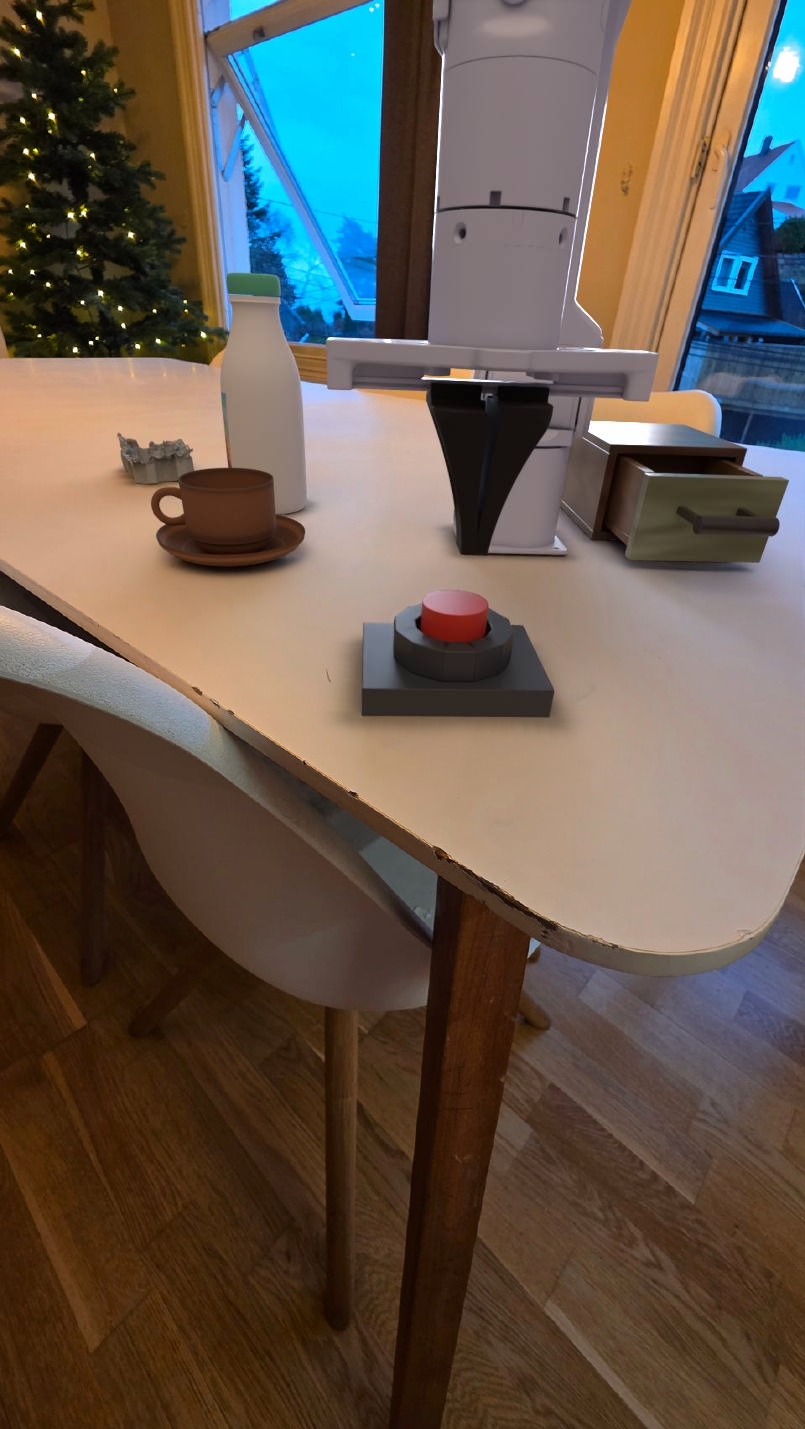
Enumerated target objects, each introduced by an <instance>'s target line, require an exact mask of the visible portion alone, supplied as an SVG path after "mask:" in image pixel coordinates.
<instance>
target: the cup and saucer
mask: <svg viewBox="0 0 805 1429" xmlns="http://www.w3.org/2000/svg"><path fill="white" fill-rule="evenodd" d="M177 482H178V487H176V486H175V487H174V486H165V487H161V488H159V489H157V490H156V491H155V492H154V493H153V495H152V496H151V499H150V507H151V511H152V513H153V515H154V516H155V518H156V519H157V520H158V521H160V522H161V523H163V525H162V526H161V527H160V528H159V529H158V530H157V531H156V534H155V538H156V540H157V543H158V545H159V546H160V548H161V549H163V550H164V551H166V552H167V553H168V554H170V555H171V556H173V557H175V558H177V559H179V560H182V561H185V562H189V563H193V564H197V565H202V566H210V567H211V566H212V567H242V566H243V567H244V566H253V565H258V564H263V563H268V562H272V561H276V560H278V559H280V558H283V557H285V556H287V555H288V554H291V553H292V552H294V551H295V550H296V549H297V548H298V547H299V546H300V545H301V544H302V543H303V541H304V540H305V537H306V528H305V526H304V525H303V524H302V523H301V522H299V521H298V520H296V519H294V518H292V517H288V516H286V515H283V514H276V513H275V495H274V478H273V476H272V475H271V474H269V473H267V472H264V471H260V470H255V469H247V468H228V467H210V468H202V469H197V470H194V471H191V472H188V473H185V474H183V475H181V476H180V477H179V478H178V481H177ZM165 497H174V498H176V499H179V500H181V505H182V512H183V513H182V514H180V515H179V516H173V517H171V516H169V515H166V514H164V512H163V511H162V509H161V506H160V504H161V500H163V498H165Z"/></svg>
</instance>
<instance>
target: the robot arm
mask: <svg viewBox="0 0 805 1429" xmlns="http://www.w3.org/2000/svg"><path fill="white" fill-rule="evenodd" d="M432 1H433V3H432V4H433V5H432V21H433V44H434V47H435V49H436V50H437V52H438V54H439V55H440V56H441V58H442V60H441V62H442V63H441V82H440V100H439V101H440V102H439V118H438V138H437V155H436V156H437V159H436V178H435V195H434V196H435V197H434V198H435V199H434V217H433V232H432V233H433V235H432V257H431V276H430V279H431V280H430V292H429V293H430V296H429V311H428V312H429V313H428V314H429V315H428V332H427V333H428V334H427V339H426V340H425V339H394V338H393V339H392V338H388V339H387V338H359V337H357V338H356V337H328V338H327V339H326V340H325V346H326V347H325V349H326V350H325V351H326V352H325V353H326V389H327V390H329V391H330V390H331V391H352V390H353V389H354V390H355V389H357V390H358V389H360V390H380V391H381V390H383V391H385V390H386V391H406V392H407V391H410V392H425V402H426V404H427V408H428V411H429V413H430V416H431V420H432V422H433V425H434V429H435V431H436V435H437V438H438V442H439V444H440V448H441V451H442V455H443V459H444V462H445V467H446V470H447V474H448V475H447V476H448V479H449V486H450V490H451V496H452V501H453V517H452V518H453V519H452V521H453V522H452V526H451V527H452V529H453V532H454V535H455V539H456V540H455V543H456V546H457V549H458V553H459V555H460V556H478V557H479V556H481V557H482V556H483V557H484V556H485V557H486V556H488V554H511V555H512V554H514V555H515V554H517V555H556V556H557V555H558V556H559V555H562V556H565V555H567V554H568V548H567V546H566V545H565V544H564V543H563V541H561V539H560V538H559V537H558V536H557V534H556V532H557V528H558V521H559V516H560V515H559V514H560V511H561V510H560V509H561V507H560V504H561V498H562V493H563V487H564V481H565V475H566V469H567V464H568V458H569V452H570V446H571V445H572V441H573V438H574V433H576V434H575V438H576V439H581V438H582V437H583V435H585V434H586V433H588V432H589V427H590V422H591V421H592V416H593V411H594V404H595V401H596V400H595V399H618V400H619V399H620V400H623V401H627V402H645V403H646V402H649V401H650V398H651V395H652V389H653V384H654V381H655V376H656V372H657V368H658V362H659V359H660V353H659V352H653V351H647V350H634V349H633V350H632V349H614V348H613V349H612V348H603V346H604V342H605V339H604V337H603V336H602V334H603V333H602V332H603V330H602V328H601V327H600V325H599V324H597V322H596V321H595V320H594V319H593V318H592V317H591V316H590V315H589V314H588V312H586V311H585V310H584V309H583V307H581V305H580V304H579V303H578V302H577V300H576V299H577V293H578V288H579V281H580V276H581V270H582V269H581V268H582V262H583V257H584V250H585V244H586V237H587V233H588V232H587V231H588V225H589V219H590V212H591V207H592V201H593V194H594V188H595V181H596V175H597V169H598V164H599V163H598V162H599V158H600V156H599V155H600V150H601V144H602V138H603V131H604V125H605V118H606V113H607V108H608V99H609V94H610V89H611V88H610V87H611V81H612V76H613V68H614V62H615V56H616V50H617V46H618V43H619V39H620V35H621V34H622V30H623V27H624V25H625V22H626V19H627V16H628V13H629V11H630V7H631V5H632V1H633V0H432ZM452 369H453V370H467V371H469V370H470V371H474V373H473V379H465V378H439V377H450V376H451V373H452ZM425 376H428V377H425Z"/></svg>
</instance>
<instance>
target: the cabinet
mask: <svg viewBox="0 0 805 1429" xmlns="http://www.w3.org/2000/svg"><path fill="white" fill-rule="evenodd" d="M575 434H576V433H574V438H573V441H572V445H571V446H570V452H569V458H568V464H567V469H566V475H565V481H564V487H563V493H562V498H561V504H560V509H562V511H564V513H565V514H566V515H567V516H568V517H569V518H570V519H571V520H572V521H573V522H574V523H575V524H576V526H578V527H579V529H580V530H581V531H582V532H584V534H585V535H586V536H587V537H588V538H589V539H590V540H591V541H621V540H620V539H619V538H618V537H617V536H616V535H615V534H614V533H613V532H612V531H611V530H610V529H609V528H608V527H606V526H605V525H604V524H603V519H604V514H605V510H606V505H607V500H608V496H609V491H610V486H611V481H612V477H613V472H614V467H615V463H616V458H617V454H646V455H676V456H707V457H722V458H724V459H726V460H728V461H731V462H733V463H735V464H738V465H740V466H742V467H743V466H744V462H745V458H746V455H747V452H748V448H747V447H744V446H742V445H739V444H736V443H733V442H731V441H728V440H727V439H724V438H721V437H718V436H715V435H713V434H710V433H708V432H705V431H703V430H700V429H697V428H695V427H691V426H689V425H687V424H682V423H681V424H677V423H676V424H675V423H654V422H651V423H650V422H625V421H599V420H598V421H593V420H591V422H590V427H589V432H588V433H586V434H585V435H583V437H582V438H581V439H576V438H575Z"/></svg>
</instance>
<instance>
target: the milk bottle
mask: <svg viewBox="0 0 805 1429" xmlns="http://www.w3.org/2000/svg"><path fill="white" fill-rule="evenodd" d="M226 289H227V294H228V302H229V303H230V305H231V323H230V324H231V325H230V330H229V334H228V338H227V342H226V346H225V348H224V352H223V355H222V360H221V364H220V377H219V378H220V381H219V383H220V399H221V400H220V401H221V411H222V420H223V430H224V431H223V432H224V441H225V449H226V460H227V468H247V469H255V470H260V471H264V472H267V473H269V474H271V475H272V476H273V478H274V495H275V513H276V514H277V515H283V514H285V515H286V514H291V513H295V512H298V511H301V510H302V509H304V508H305V507H306V505H307V502H308V489H307V485H308V484H307V464H306V461H307V460H306V442H305V441H306V440H305V424H304V423H305V422H304V406H303V405H304V404H303V403H304V402H303V392H302V390H303V389H302V382H301V376H300V371H299V368H298V365H297V362H296V359H295V356H294V354H293V352H292V350H291V347H290V345H289V343H288V339H287V337H286V334H285V331H284V329H283V325H282V322H281V317H280V305H281V304H282V302H281V280H280V277H279V276H278V275H275V274H269V273H268V274H267V273H255V272H253V273H252V272H228V273H227V274H226Z"/></svg>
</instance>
